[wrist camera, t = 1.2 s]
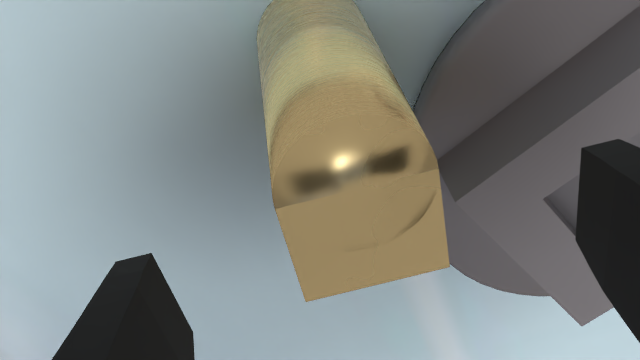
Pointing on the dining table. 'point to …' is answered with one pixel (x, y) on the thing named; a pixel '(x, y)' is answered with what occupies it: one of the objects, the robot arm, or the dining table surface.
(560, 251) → the hub
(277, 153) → the shaft
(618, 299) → the robot arm
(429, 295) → the dining table surface
